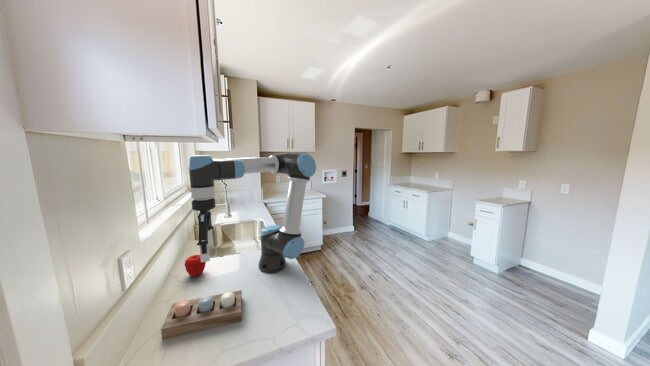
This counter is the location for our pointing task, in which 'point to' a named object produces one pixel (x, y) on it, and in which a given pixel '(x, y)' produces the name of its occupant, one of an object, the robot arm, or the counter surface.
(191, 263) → the apple
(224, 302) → the button cream
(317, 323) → the counter surface
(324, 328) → the counter surface
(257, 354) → the counter surface
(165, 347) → the counter surface
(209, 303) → the button slate
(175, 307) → the button terracotta
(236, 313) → the console
